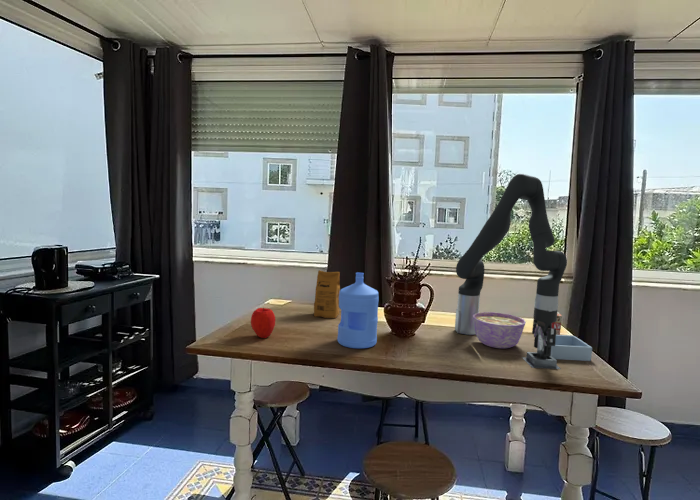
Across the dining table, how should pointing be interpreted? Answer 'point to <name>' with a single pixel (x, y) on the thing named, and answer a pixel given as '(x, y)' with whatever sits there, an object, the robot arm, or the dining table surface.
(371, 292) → the water jug
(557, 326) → the stack of blocks
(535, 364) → the socket block
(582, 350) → the bin
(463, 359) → the dining table surface
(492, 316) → the bowl of food
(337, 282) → the coffee package
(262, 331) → the apple
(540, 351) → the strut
